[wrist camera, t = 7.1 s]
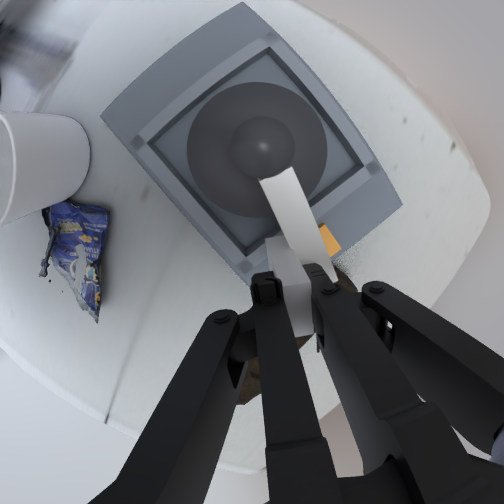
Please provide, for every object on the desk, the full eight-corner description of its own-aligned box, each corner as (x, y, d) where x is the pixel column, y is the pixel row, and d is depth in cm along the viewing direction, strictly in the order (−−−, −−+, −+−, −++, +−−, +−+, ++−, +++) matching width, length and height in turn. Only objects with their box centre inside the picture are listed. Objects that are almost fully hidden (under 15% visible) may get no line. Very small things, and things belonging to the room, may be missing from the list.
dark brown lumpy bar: (322, 252, 26) (336, 273, 21) (350, 275, 26) (367, 297, 22) (210, 373, 31) (207, 401, 26) (238, 386, 31) (237, 415, 27)
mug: (22, 112, 19) (-48, 111, 9) (102, 121, 20) (26, 112, 10) (10, 186, 22) (-56, 208, 12) (85, 209, 23) (12, 244, 13)
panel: (112, 118, 20) (89, 114, 16) (242, 14, 17) (242, -9, 14) (266, 293, 27) (269, 318, 23) (389, 199, 24) (413, 208, 20)
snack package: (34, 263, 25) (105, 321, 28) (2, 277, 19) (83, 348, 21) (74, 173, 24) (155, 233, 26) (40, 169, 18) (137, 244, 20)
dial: (170, 123, 18) (138, 111, 12) (287, 69, 17) (306, 36, 11) (248, 272, 23) (249, 319, 16) (354, 223, 22) (394, 252, 15)
